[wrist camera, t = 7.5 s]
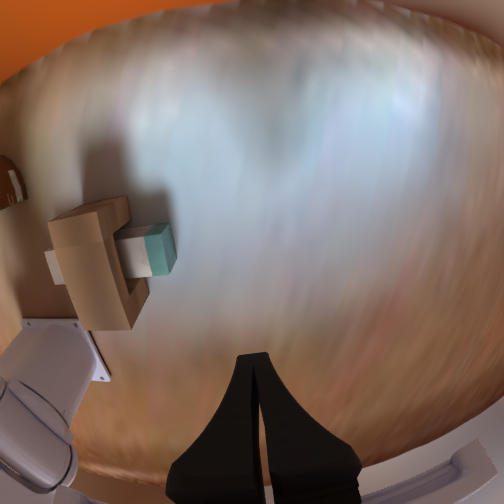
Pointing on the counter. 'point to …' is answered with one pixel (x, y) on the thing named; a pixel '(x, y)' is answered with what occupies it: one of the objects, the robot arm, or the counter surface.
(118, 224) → the angled brown block
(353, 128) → the counter surface
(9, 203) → the food container
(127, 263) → the white teal bar
